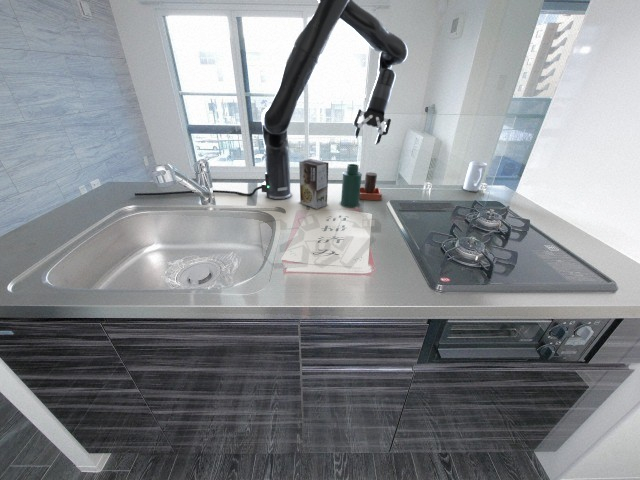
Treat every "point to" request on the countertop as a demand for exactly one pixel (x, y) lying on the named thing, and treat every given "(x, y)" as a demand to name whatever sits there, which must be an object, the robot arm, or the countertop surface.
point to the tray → (367, 196)
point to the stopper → (370, 182)
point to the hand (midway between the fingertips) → (366, 141)
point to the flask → (351, 186)
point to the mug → (474, 175)
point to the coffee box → (313, 183)
